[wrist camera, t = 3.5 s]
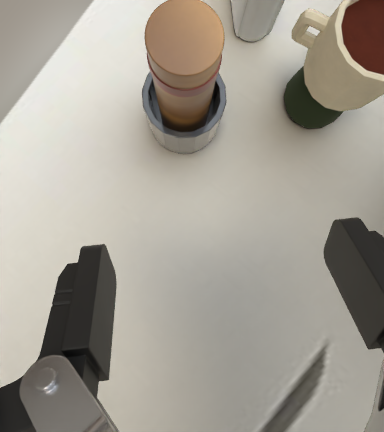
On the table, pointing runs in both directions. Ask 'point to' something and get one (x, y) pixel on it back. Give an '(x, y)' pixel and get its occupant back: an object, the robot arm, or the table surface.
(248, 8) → the photo printer
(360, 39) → the character mug
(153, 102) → the cup
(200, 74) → the red-banded tan cylinder
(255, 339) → the table surface
